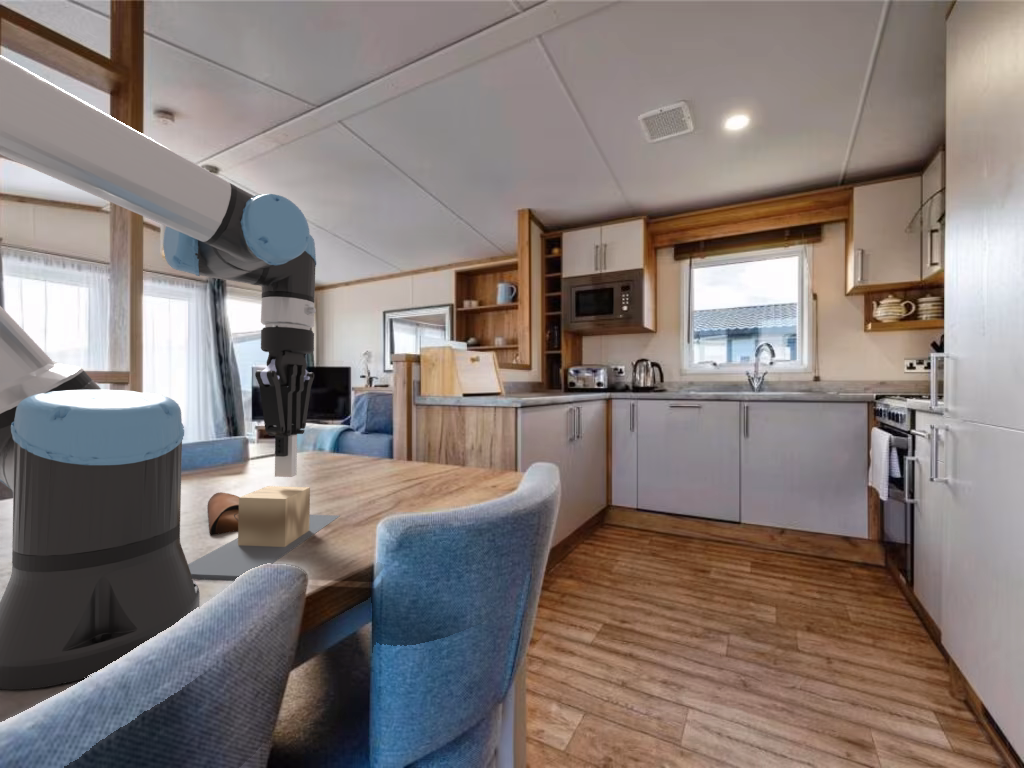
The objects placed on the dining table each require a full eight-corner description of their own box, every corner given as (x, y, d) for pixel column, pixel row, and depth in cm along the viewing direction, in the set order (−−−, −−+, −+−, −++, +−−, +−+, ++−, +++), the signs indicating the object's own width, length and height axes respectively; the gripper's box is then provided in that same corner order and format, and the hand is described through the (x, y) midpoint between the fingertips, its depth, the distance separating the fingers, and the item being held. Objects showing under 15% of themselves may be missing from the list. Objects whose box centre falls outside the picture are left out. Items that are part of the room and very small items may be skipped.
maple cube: (309, 530, 70) (284, 546, 63) (267, 528, 70) (237, 545, 63) (310, 487, 70) (285, 498, 63) (268, 485, 70) (238, 497, 63)
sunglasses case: (272, 529, 72) (249, 497, 70) (228, 558, 68) (202, 526, 66) (258, 503, 86) (238, 476, 84) (221, 527, 83) (200, 499, 81)
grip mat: (253, 581, 53) (253, 576, 53) (170, 578, 54) (170, 573, 54) (340, 518, 78) (340, 515, 78) (283, 517, 78) (283, 513, 78)
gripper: (288, 322, 62) (285, 486, 62) (330, 333, 75) (327, 468, 75) (237, 322, 63) (235, 484, 63) (288, 332, 76) (285, 467, 76)
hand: (285, 475), depth 69 cm, fingers closed
